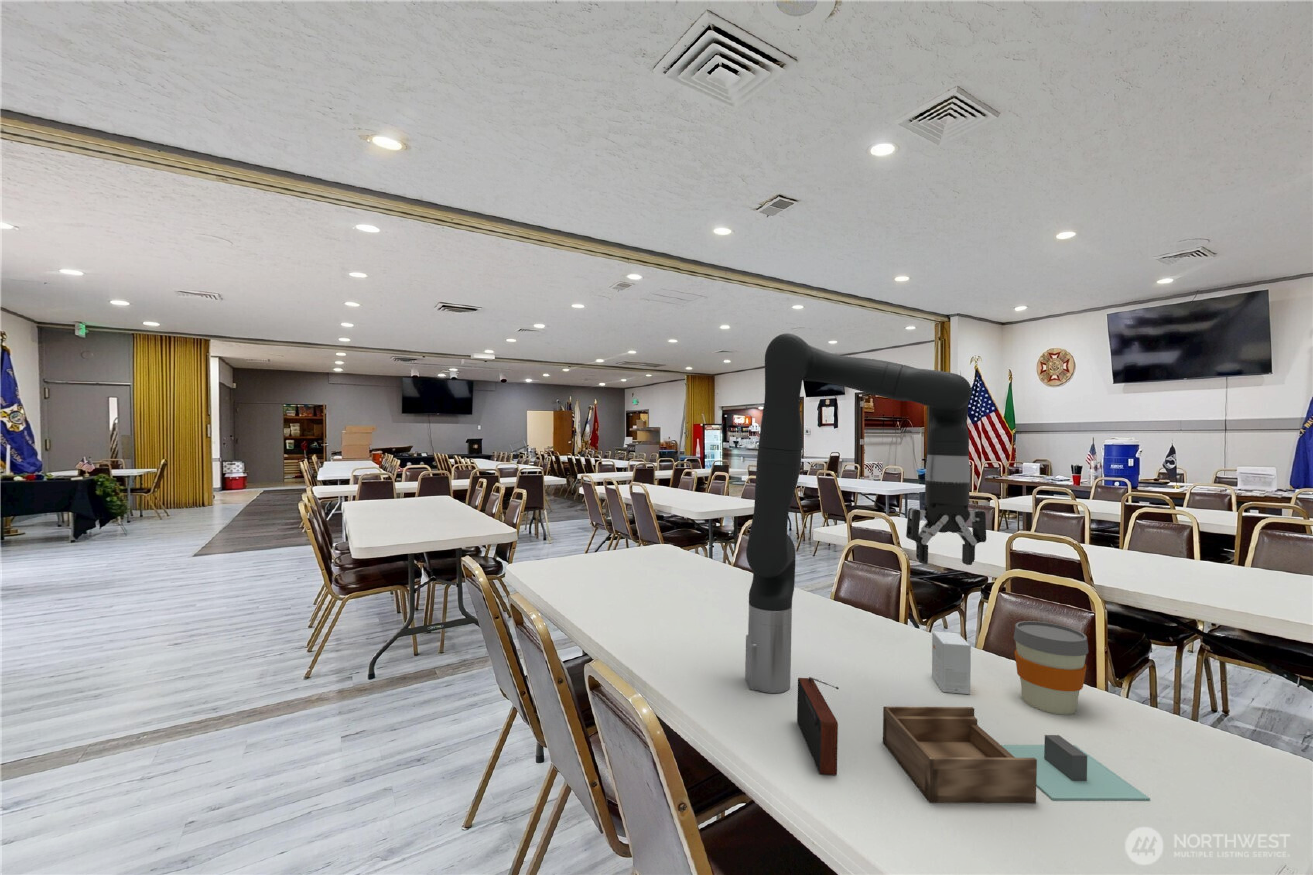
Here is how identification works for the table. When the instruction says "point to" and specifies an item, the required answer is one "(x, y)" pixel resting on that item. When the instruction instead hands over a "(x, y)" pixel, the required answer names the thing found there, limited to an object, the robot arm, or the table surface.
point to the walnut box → (956, 757)
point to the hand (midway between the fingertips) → (945, 563)
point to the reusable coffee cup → (1050, 665)
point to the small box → (951, 662)
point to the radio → (817, 725)
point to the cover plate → (1076, 788)
